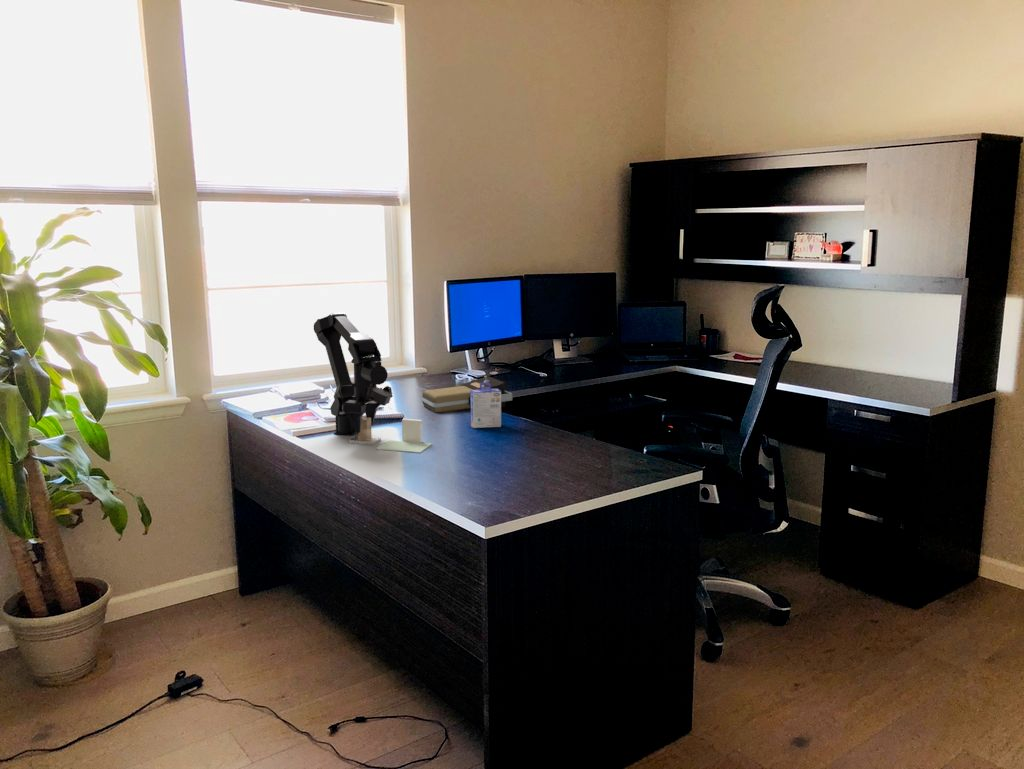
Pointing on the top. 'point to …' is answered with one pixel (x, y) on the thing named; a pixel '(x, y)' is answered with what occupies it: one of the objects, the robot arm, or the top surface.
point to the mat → (404, 446)
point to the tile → (412, 430)
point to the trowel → (365, 433)
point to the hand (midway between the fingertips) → (364, 428)
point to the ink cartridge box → (485, 407)
